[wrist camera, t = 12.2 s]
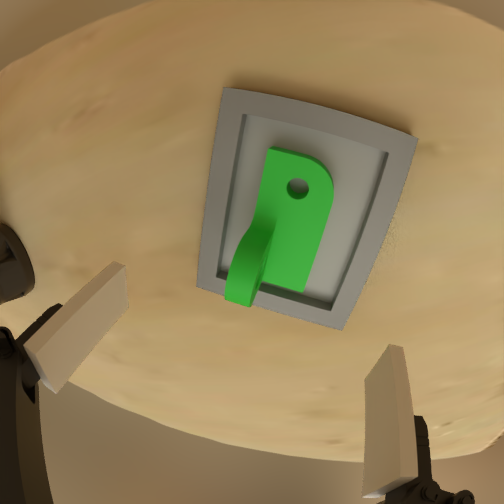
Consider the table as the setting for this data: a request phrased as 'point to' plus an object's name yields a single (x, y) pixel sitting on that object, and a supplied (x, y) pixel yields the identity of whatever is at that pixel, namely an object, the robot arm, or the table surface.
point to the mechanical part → (282, 227)
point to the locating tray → (345, 192)
